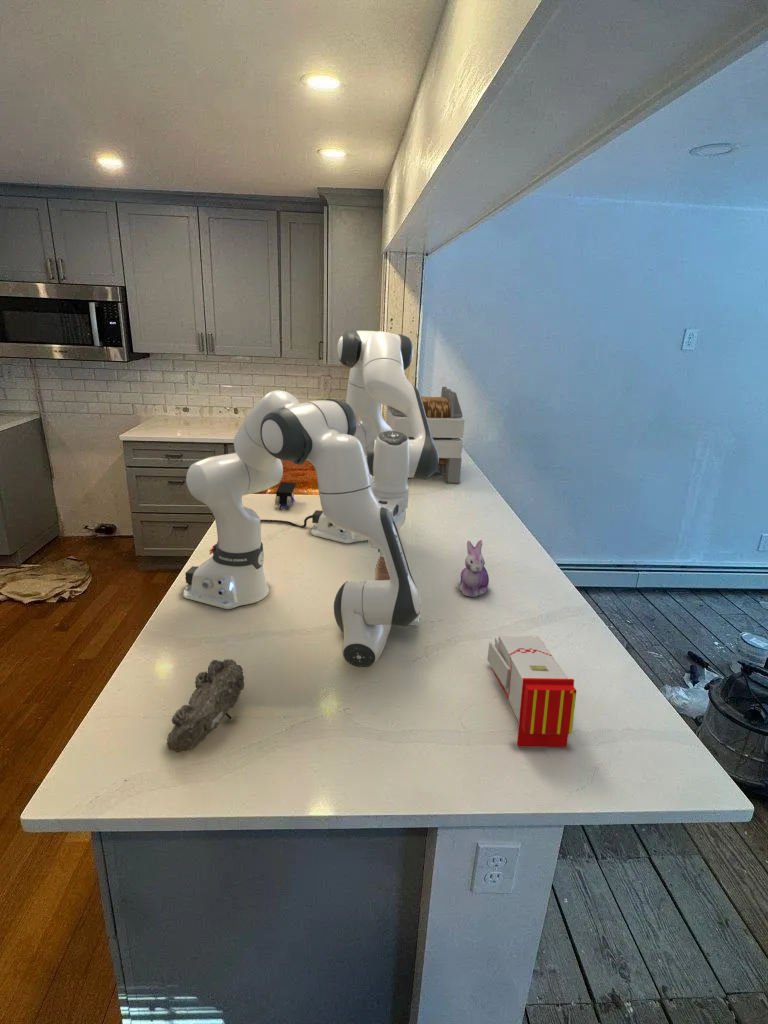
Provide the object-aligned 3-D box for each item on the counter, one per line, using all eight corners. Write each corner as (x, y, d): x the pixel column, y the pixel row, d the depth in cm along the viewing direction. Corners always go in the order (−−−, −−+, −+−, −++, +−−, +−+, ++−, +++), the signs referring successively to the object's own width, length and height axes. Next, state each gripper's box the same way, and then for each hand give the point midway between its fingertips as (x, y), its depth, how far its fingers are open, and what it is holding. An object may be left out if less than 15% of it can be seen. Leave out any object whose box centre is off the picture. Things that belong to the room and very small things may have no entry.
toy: (536, 619, 129) (586, 686, 99) (531, 673, 131) (578, 754, 102) (483, 618, 128) (517, 685, 99) (479, 672, 131) (511, 753, 102)
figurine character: (292, 514, 217) (296, 498, 230) (291, 496, 214) (296, 480, 227) (274, 514, 217) (280, 497, 230) (273, 496, 213) (279, 480, 227)
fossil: (192, 660, 117) (244, 628, 112) (224, 691, 120) (276, 661, 115) (142, 746, 98) (202, 712, 93) (182, 779, 101) (242, 748, 96)
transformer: (382, 463, 289) (386, 382, 275) (445, 464, 293) (451, 384, 279) (390, 482, 257) (394, 392, 243) (460, 483, 261) (468, 394, 247)
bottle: (396, 609, 150) (401, 544, 143) (389, 619, 145) (394, 552, 139) (377, 605, 151) (381, 540, 145) (370, 614, 147) (373, 548, 140)
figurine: (470, 601, 155) (475, 551, 150) (449, 585, 164) (454, 537, 159) (497, 594, 160) (504, 545, 154) (476, 579, 168) (481, 532, 163)
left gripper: (418, 613, 132) (425, 586, 144) (333, 602, 135) (347, 577, 148) (416, 637, 134) (423, 608, 147) (333, 625, 137) (347, 598, 150)
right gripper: (389, 486, 148) (387, 535, 153) (363, 510, 129) (361, 565, 134) (413, 489, 146) (410, 538, 151) (390, 514, 128) (387, 570, 132)
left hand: (385, 592), depth 147 cm, fingers closed on bottle, 5 cm apart
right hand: (387, 551), depth 142 cm, fingers closed on cap, 4 cm apart
